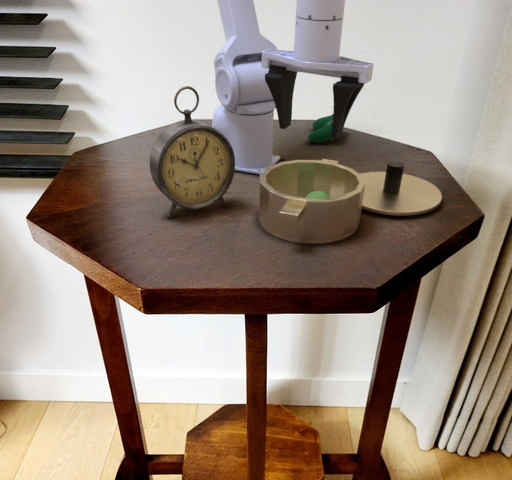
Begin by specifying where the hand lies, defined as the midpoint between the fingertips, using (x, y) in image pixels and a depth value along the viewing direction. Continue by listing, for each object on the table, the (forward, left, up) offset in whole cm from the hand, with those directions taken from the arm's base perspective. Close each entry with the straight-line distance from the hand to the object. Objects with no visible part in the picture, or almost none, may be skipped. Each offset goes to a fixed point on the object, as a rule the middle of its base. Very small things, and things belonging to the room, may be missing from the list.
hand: (310, 131), depth 74 cm
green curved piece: (-4, +28, -10) cm, 30 cm away
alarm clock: (-13, -9, -10) cm, 19 cm away
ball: (+4, -7, -7) cm, 11 cm away
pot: (+3, -6, -10) cm, 12 cm away
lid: (+12, +6, -9) cm, 16 cm away
